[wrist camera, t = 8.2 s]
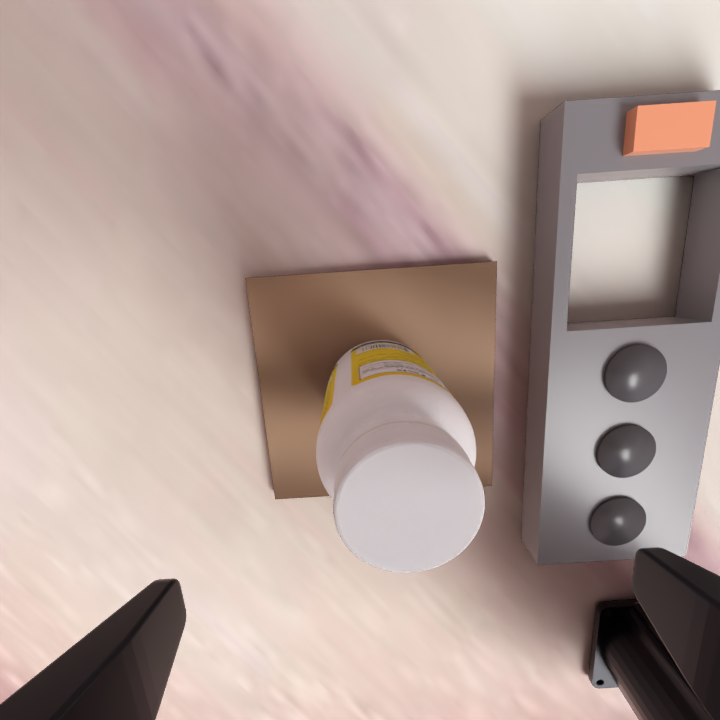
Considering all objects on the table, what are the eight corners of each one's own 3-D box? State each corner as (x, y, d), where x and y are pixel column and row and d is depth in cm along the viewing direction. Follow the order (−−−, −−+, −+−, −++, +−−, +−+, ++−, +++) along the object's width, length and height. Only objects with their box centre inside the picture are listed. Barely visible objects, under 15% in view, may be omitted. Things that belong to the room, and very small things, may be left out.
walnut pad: (488, 480, 21) (491, 485, 20) (277, 493, 21) (275, 499, 20) (493, 261, 18) (496, 261, 18) (248, 277, 18) (245, 278, 18)
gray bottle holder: (656, 530, 22) (696, 564, 19) (520, 538, 22) (542, 573, 19) (719, 107, 17) (785, 79, 14) (540, 120, 17) (573, 93, 14)
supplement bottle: (374, 456, 20) (391, 628, 10) (306, 383, 19) (257, 500, 9) (454, 395, 19) (553, 520, 10) (388, 315, 18) (426, 367, 9)
